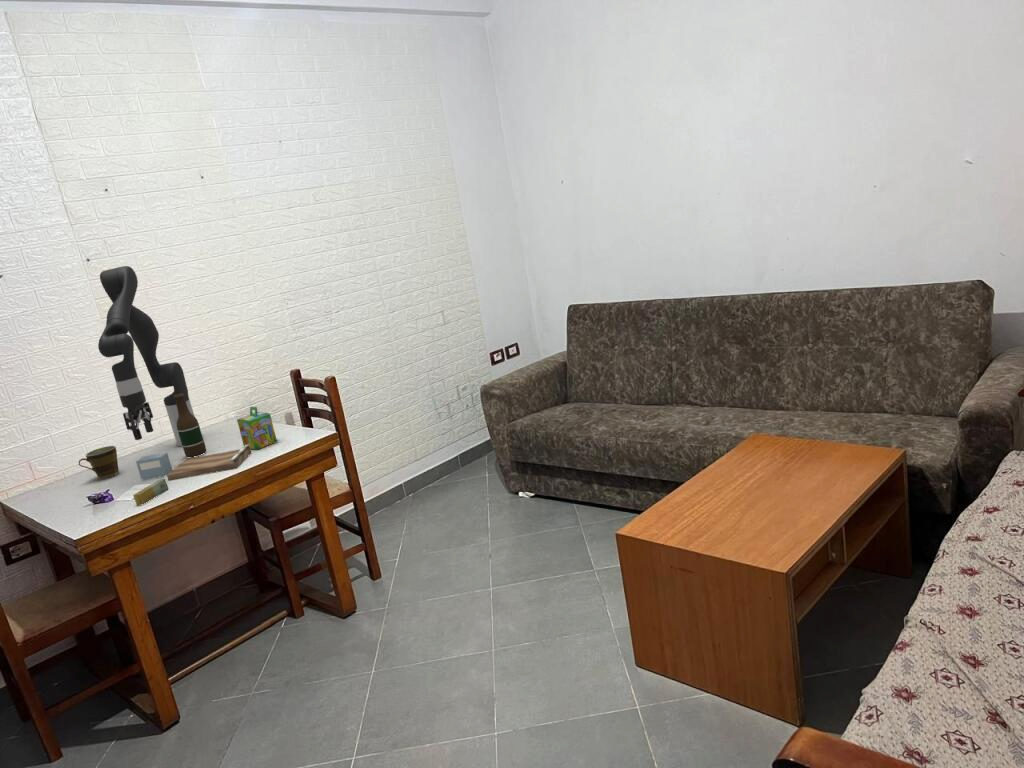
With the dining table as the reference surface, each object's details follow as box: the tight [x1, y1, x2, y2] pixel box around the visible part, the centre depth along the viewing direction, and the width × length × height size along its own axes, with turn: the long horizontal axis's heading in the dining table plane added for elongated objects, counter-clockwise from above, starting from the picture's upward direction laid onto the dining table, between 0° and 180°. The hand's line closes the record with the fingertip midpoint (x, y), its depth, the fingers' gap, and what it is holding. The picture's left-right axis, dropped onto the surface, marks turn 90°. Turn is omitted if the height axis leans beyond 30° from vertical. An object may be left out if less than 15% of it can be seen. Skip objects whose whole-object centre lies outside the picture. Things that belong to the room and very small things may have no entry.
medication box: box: [132, 478, 169, 506], centre depth 236 cm, size 12×3×4 cm, turn 165°
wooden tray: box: [166, 445, 252, 481], centre depth 258 cm, size 16×24×3 cm, turn 91°
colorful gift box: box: [236, 406, 278, 451], centre depth 272 cm, size 9×9×15 cm
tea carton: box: [135, 452, 173, 480], centre depth 259 cm, size 5×9×7 cm, turn 91°
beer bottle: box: [174, 393, 207, 458], centre depth 275 cm, size 8×8×24 cm
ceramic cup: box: [78, 445, 120, 480], centre depth 268 cm, size 13×10×10 cm
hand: (144, 435), depth 257 cm, fingers open, 8 cm apart
